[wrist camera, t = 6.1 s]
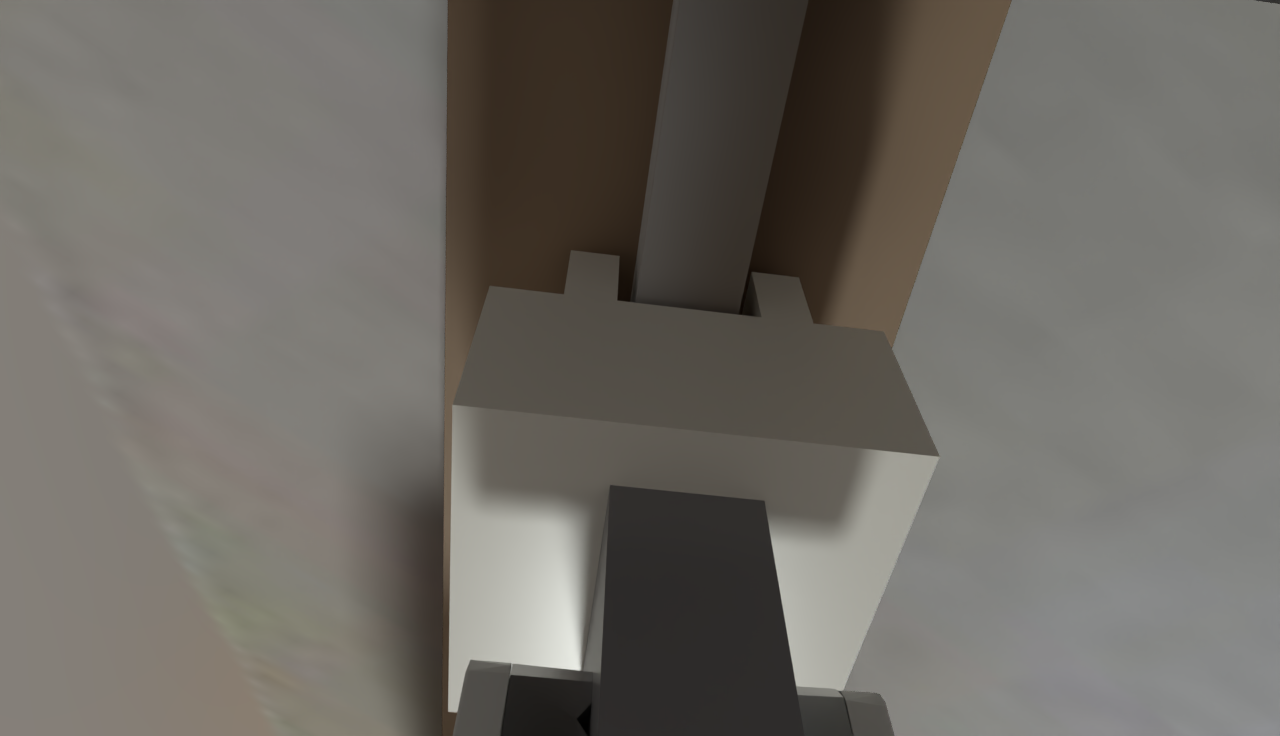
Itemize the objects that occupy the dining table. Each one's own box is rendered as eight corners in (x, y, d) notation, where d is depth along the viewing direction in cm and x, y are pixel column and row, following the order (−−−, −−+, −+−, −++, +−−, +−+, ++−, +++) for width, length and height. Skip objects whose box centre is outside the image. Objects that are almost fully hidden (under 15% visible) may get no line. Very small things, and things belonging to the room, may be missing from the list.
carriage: (863, 285, 15) (1181, 998, 6) (783, 542, 18) (914, 1241, 9) (503, 242, 14) (283, 941, 6) (490, 513, 17) (339, 1217, 9)
